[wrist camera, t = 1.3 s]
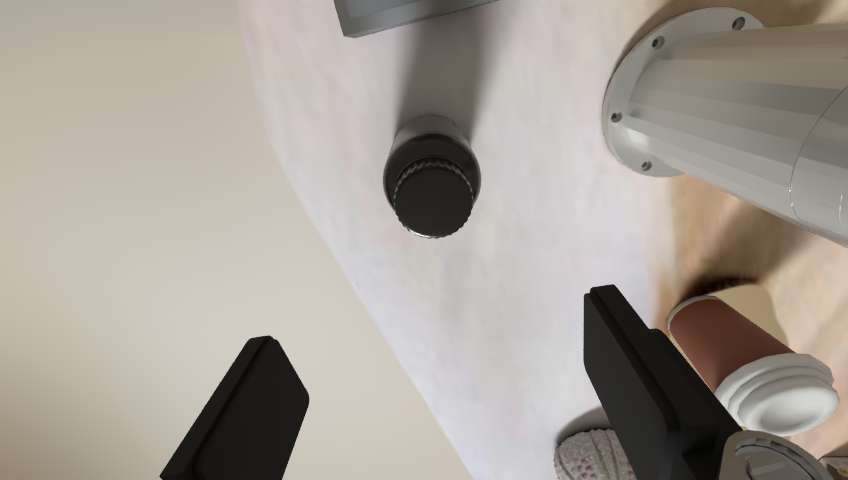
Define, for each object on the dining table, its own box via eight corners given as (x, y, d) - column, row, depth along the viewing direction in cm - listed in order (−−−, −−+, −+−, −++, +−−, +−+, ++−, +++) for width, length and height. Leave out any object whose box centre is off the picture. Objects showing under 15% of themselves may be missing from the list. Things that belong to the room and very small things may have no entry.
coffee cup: (757, 297, 38) (884, 391, 27) (701, 353, 42) (793, 453, 31) (688, 276, 37) (792, 365, 26) (637, 335, 41) (710, 434, 30)
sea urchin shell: (620, 473, 55) (648, 534, 48) (538, 467, 55) (554, 528, 48) (654, 422, 49) (692, 484, 42) (561, 416, 48) (584, 477, 41)
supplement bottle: (432, 203, 33) (433, 273, 22) (377, 154, 31) (350, 207, 20) (484, 151, 30) (514, 202, 20) (429, 94, 28) (429, 119, 18)
